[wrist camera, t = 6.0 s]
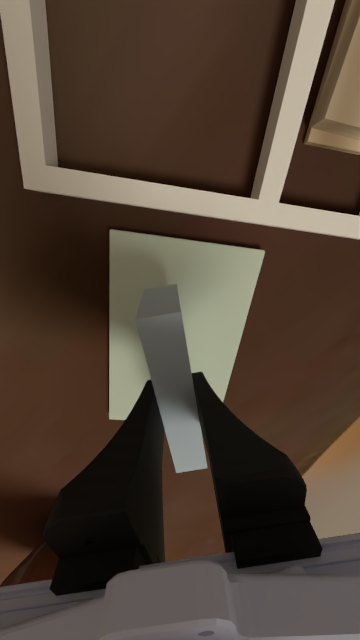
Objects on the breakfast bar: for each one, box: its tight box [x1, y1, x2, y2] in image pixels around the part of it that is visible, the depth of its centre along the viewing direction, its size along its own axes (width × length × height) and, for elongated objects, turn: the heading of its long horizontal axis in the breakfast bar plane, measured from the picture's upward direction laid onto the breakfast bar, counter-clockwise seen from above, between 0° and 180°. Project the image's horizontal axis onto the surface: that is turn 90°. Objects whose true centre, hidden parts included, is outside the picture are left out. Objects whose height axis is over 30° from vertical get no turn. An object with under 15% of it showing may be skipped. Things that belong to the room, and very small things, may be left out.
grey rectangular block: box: [135, 284, 207, 473], centre depth 14 cm, size 2×11×4 cm, turn 9°
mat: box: [109, 229, 265, 420], centre depth 17 cm, size 10×16×1 cm, turn 172°
